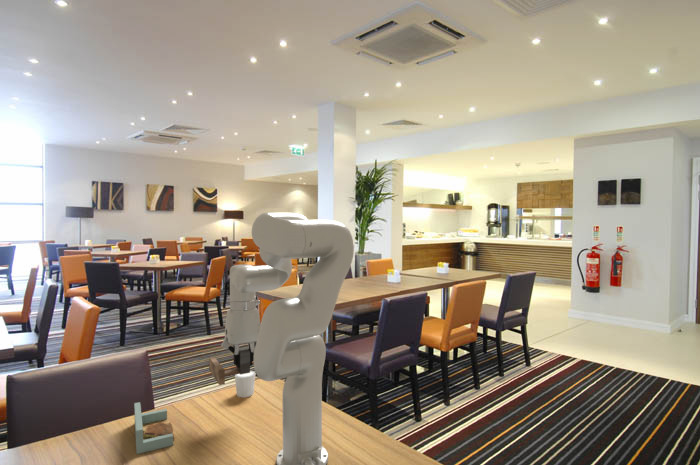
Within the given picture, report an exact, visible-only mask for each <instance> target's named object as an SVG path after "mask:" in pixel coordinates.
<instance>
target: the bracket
mask: <svg viewBox="0 0 700 465" xmlns="http://www.w3.org/2000/svg"><path fill="white" fill-rule="evenodd" d="M133 404H134V406H133V408H134V433H135V447H136V448H135V450H136V455H139V454H143V453H147V452H151V451H155V450H160V449H164V448H167V447H172V446H174V441H173V434H174V433H173V434H167V435H163V436H159V437H154V438H151V437H149V438H147V439H144V437H143V433H144V428H143V425H146V424H150V423H156V422H161V421H165V420H167V419H168V410H167V408H163V409H159V410H154V411H148V412H144V413H142V405H141V402H139V401H138V402H133Z"/></svg>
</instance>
